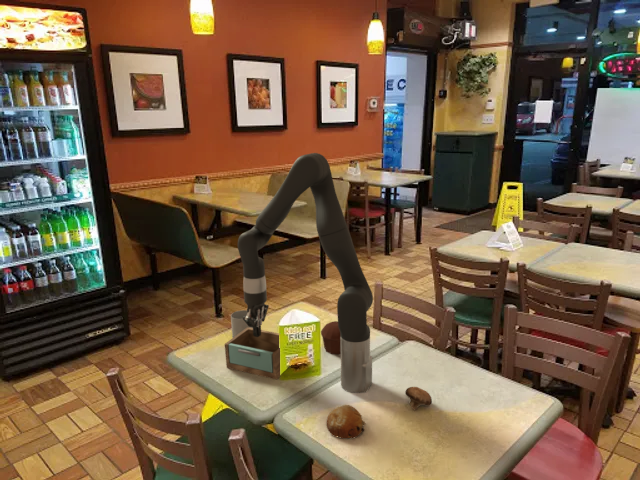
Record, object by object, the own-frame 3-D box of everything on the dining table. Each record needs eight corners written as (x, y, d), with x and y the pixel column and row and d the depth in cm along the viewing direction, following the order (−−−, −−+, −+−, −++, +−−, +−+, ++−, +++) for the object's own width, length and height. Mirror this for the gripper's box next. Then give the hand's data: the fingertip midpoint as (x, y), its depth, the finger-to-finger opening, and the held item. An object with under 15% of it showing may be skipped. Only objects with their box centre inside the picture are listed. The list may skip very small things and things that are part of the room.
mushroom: (407, 407, 134) (415, 385, 136) (396, 401, 142) (404, 381, 143) (431, 417, 136) (439, 396, 137) (419, 411, 143) (426, 391, 145)
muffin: (315, 345, 178) (315, 321, 175) (341, 338, 183) (340, 314, 180) (331, 359, 168) (330, 333, 165) (357, 351, 173) (357, 326, 170)
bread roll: (347, 425, 138) (337, 399, 138) (374, 425, 131) (364, 397, 131) (326, 444, 130) (316, 416, 131) (353, 444, 124) (342, 415, 124)
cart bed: (296, 359, 168) (295, 336, 166) (276, 379, 156) (275, 354, 153) (248, 349, 176) (247, 327, 174) (226, 367, 164) (224, 343, 162)
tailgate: (274, 370, 157) (273, 352, 155) (270, 374, 155) (269, 355, 153) (232, 361, 164) (230, 343, 162) (228, 364, 162) (226, 346, 160)
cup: (252, 343, 181) (250, 319, 178) (230, 343, 181) (229, 319, 179) (255, 333, 189) (254, 310, 186) (235, 333, 189) (233, 310, 187)
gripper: (253, 297, 150) (256, 346, 154) (274, 283, 161) (276, 329, 166) (234, 293, 153) (237, 342, 157) (256, 280, 164) (258, 326, 169)
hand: (257, 335), depth 162 cm, fingers closed
